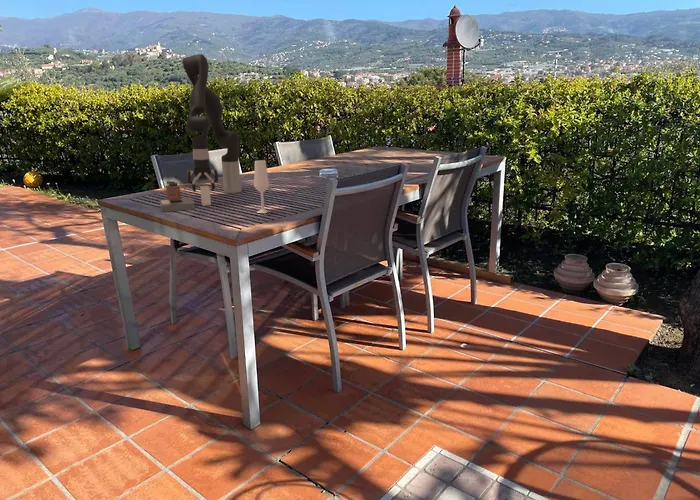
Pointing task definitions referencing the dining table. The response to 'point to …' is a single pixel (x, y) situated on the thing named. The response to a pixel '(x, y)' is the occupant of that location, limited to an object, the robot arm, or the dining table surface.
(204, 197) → the peg
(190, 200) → the slot holder
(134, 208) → the dining table surface
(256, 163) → the champagne flute
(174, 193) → the lighter
